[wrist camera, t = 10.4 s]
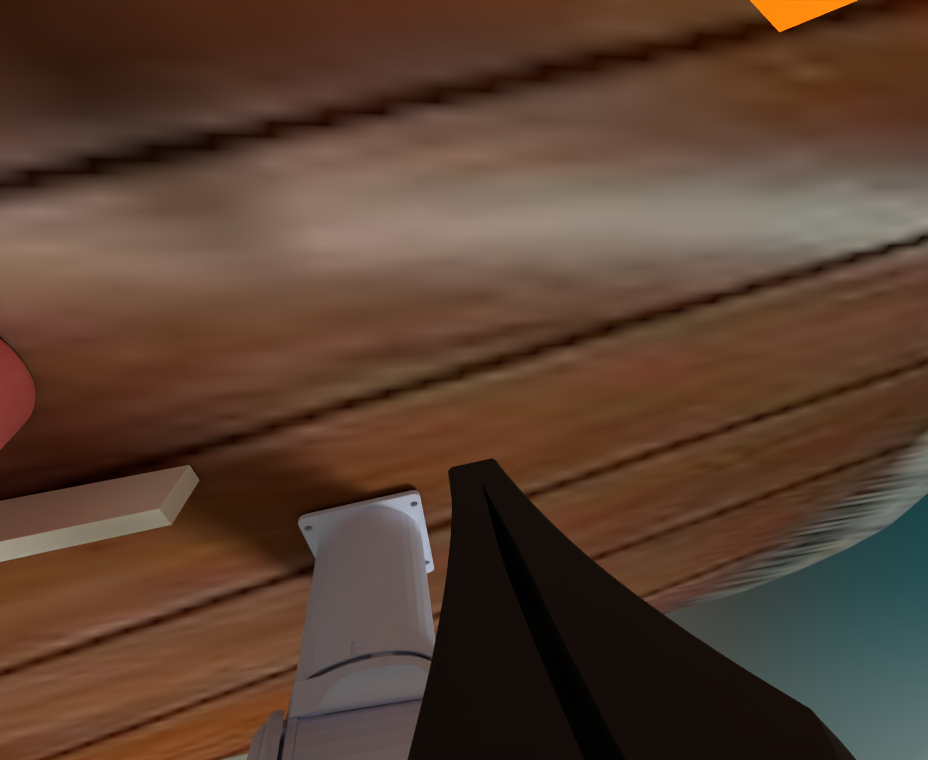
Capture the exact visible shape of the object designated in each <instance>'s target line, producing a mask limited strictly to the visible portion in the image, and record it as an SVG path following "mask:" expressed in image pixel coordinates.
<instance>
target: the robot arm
mask: <svg viewBox="0 0 928 760" xmlns="http://www.w3.org/2000/svg"><path fill="white" fill-rule="evenodd" d="M448 474H449V482H450V490H451V497H452V521H451V539H450V549H449V558H448V567H447V576H446V583H445V590H444V596H443V602H442V608H441V614H440V620H439V625H438V630H437V635H436V640H435V635H434V627H433V619H432V612H431V604H430V596H429V588H428V581H427V573H429V572H431V571H433V569H434V564H433V559H432V554H431V549H430V544H429V539H428V534H427V529H426V524H425V519H424V514H423V508H422V503H421V498H420V493H419V492H418V491H416V490H410V491H406V492H401V493H397V494H393V495H388V496H384V497H379V498H375V499H370V500H366V501H361V502H357V503H352V504H348V505H344V506H339V507H335V508H330V509H326V510H321V511H317V512H312V513H308V514H304V515H302V516H300V518H299V520H298V525H299V527H300V529H301V531H302V533H303V535H304V537H305V539H306V541H307V543H308V545H309V547H310V549H311V551H312V553H313V555H314V557H315V559H316V560H315V566H314V571H313V577H312V583H311V589H310V595H309V601H308V607H307V612H306V618H305V624H304V630H303V636H302V642H301V648H300V654H299V659H298V665H297V671H296V677H295V683H294V685H293V690H292V694H291V698H290V703H289V707H288V711H287V715H286V719H285V720H283V718H284V710H278V711H273V712H271V714H270V715H269V717H268V720H267V722H264V723H263V724H262V726H261V727H260V728H259V729H258V730H257V731H256V732H255V734H254V736H253V739H252V743H251V746H250V750H249V754H248V758H247V760H856V759H855V758H854V756H853V755H852V754H851V753H850V752H849V750H848V749H847V748H846V747H845V746H844V745H843V744H842V742H841V741H840V740H839V739H838V738H837V737H836V736H835V735H834V734H833V733H832V732H831V731H830V730H829V728H827V727H826V725H825V724H824V723H823V722H822V721H821V720H820V719H819V718H818V717H817V716H816V715H815V713H814V712H813V711H812V710H811V709H809V708H808V707H806V706H805V705H803V704H801V703H800V702H798V701H796V700H795V699H793V698H791V697H790V696H788V695H786V694H785V693H783V692H782V691H780V690H778V689H777V688H775V687H773V686H771V685H770V684H768V683H767V682H765V681H763V680H762V679H760V678H759V677H757V676H755V675H753V674H752V673H751V672H749V671H747V670H745V669H744V668H743V667H741V666H739V665H738V664H736V663H735V662H733V661H731V660H730V659H728V658H727V657H725V656H724V655H722V654H721V653H719V652H718V651H716V650H715V649H713V648H712V647H710V646H709V645H707V644H706V643H704V642H702V641H701V640H699V639H698V638H696V637H695V636H693V635H692V634H690V633H689V632H687V631H686V630H684V629H683V628H682V627H680V626H679V625H677V624H676V623H675V622H673V621H672V620H671V619H669V618H668V617H666V616H665V615H664V614H662V613H661V612H659V611H658V610H657V609H655V608H654V607H652V606H651V605H650V604H648V603H647V602H645V601H644V600H643V599H641V598H640V597H638V596H637V595H636V594H634V593H633V592H632V591H630V590H629V589H628V588H627V587H625V586H624V585H623V584H621V583H620V582H619V581H618V580H616V579H615V578H614V577H612V576H611V575H610V574H609V573H608V572H606V571H605V570H604V569H603V568H601V567H600V566H599V565H598V564H597V563H595V562H594V561H593V560H592V559H591V558H589V557H588V556H587V555H586V554H585V553H584V552H583V551H581V550H580V549H579V548H578V547H577V546H576V545H575V544H574V543H572V542H571V541H570V540H569V539H568V538H567V537H566V536H565V535H564V534H563V533H562V532H561V531H560V530H558V529H557V528H556V527H555V526H554V525H553V524H552V523H551V522H550V521H549V520H548V519H547V518H546V517H545V516H544V515H543V514H542V513H541V512H540V511H539V510H538V509H537V508H536V506H535V505H534V504H533V503H532V502H531V501H530V500H529V499H528V498H527V497H526V496H525V495H524V494H523V493H522V492H521V490H520V489H519V488H518V487H517V486H516V485H515V484H514V482H513V481H512V480H511V479H510V478H509V477H508V475H507V474H506V473H505V472H504V470H503V469H502V468H501V467H500V465H499V464H498V463H497V461H496V460H494V459H488V460H483V461H478V462H474V463H469V464H465V465H460V466H455V467H452V468H451V469H450V470H449V471H448ZM413 501H415V502H413Z"/></svg>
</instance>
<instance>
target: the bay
mask: <svg viewBox="0 0 928 760" xmlns="http://www.w3.org/2000/svg"><path fill="white" fill-rule="evenodd" d="M198 482H199V478H198V477H197V475H196V474H195V472H194V471H193V469H192V468H191V466H190V465H185V466H180V467H175V468H170V469H164V470H159V471H154V472H149V473H144V474H138V475H133V476H128V477H123V478H117V479H112V480H107V481H102V482H96V483H91V484H86V485H81V486H75V487H70V488H65V489H60V490H55V491H49V492H44V493H39V494H34V495H28V496H23V497H18V498H13V499H7V500H2V501H0V562H2V561H6V560H11V559H15V558H20V557H25V556H29V555H34V554H39V553H43V552H48V551H52V550H57V549H62V548H66V547H71V546H76V545H80V544H85V543H89V542H94V541H99V540H103V539H108V538H113V537H117V536H122V535H127V534H131V533H136V532H140V531H145V530H150V529H154V528H159V527H164V526H168V525H172V523H173V522H174V520H175V519H176V517H177V515H178V514H179V512H180V511H181V509H182V507H183V506H184V504H185V503H186V501H187V499H188V498H189V496H190V495H191V493H192V491H193V490H194V488H195V487H196V485H197V483H198Z"/></svg>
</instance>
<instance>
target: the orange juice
mask: <svg viewBox="0 0 928 760" xmlns="http://www.w3.org/2000/svg"><path fill="white" fill-rule="evenodd" d="M750 1H751V2H752V3H753V4H754V5H755V6H756V7H757V8H758V9H759V11H760V12H761V13H762V14H763V15H764V16H765V17H766V18H767V19H768V20H769V21H770V22H771V23H772V25H773V26H774V27H775V28H776V29H777V30H778V31H779V32H781V31H783V30H786V29H788V28H791V27H793V26H796V25H798V24H800V23H803V22H805V21H808V20H810V19H813V18H815V17H818V16H820V15H823V14H825V13H827V12H830V11H832V10H835V9H837V8H840V7H842V6H845V5H847V4H850V3H852V2H854V1H857V0H750Z"/></svg>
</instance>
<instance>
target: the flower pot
mask: <svg viewBox="0 0 928 760" xmlns="http://www.w3.org/2000/svg"><path fill="white" fill-rule="evenodd" d="M35 398H36V394H35V387H34V383H33V380H32V377H31V375H30V373H29V371H28V370H27V368H26V366H25V365H24V363H23V362H22V361H21V359H20V358H19V357H18V356H17V354H16V353H15V352H14V351H13V350H12V349H11V348H10V347H9V346H8V345H7V344H6V343H5V342H4V341H2V340H1V339H0V450H1V449H2V448H3V447H4V446H5V444H6V443H7V442H8V441H9V440H10V439H11V438H12V437H13V436H14V435H15V434H16V433H17V432H18V431H19V429H20V428H21V427H22V426H23V425H24V424H25V423H26V421H27V420H28V419H29V417H30V416H31V414H32V412H33V409H34V405H35Z"/></svg>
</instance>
